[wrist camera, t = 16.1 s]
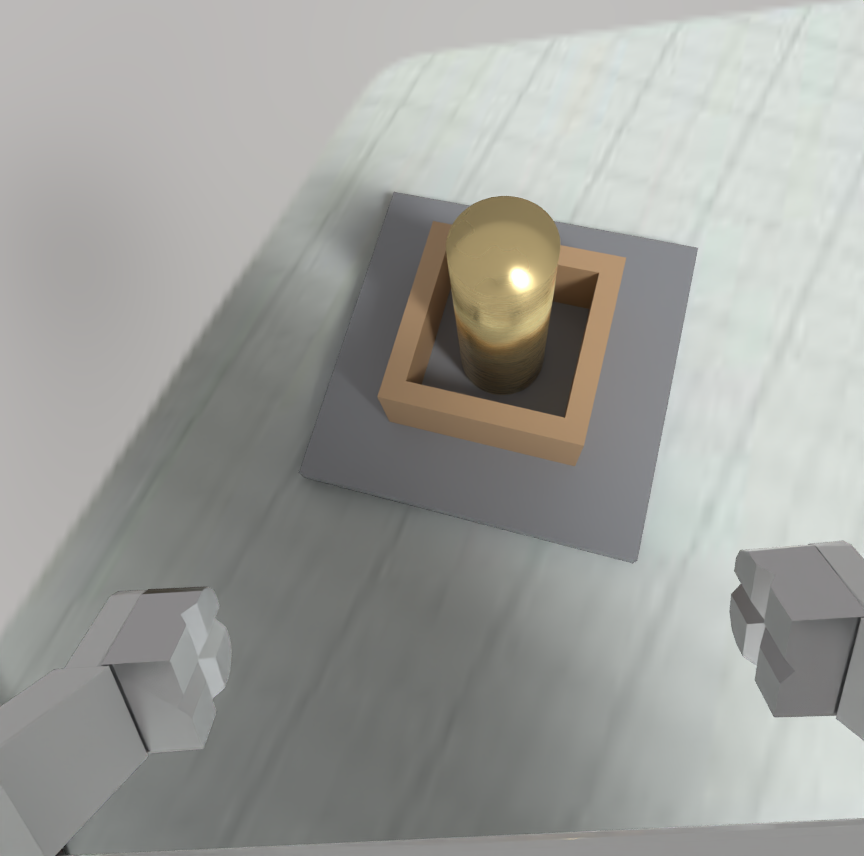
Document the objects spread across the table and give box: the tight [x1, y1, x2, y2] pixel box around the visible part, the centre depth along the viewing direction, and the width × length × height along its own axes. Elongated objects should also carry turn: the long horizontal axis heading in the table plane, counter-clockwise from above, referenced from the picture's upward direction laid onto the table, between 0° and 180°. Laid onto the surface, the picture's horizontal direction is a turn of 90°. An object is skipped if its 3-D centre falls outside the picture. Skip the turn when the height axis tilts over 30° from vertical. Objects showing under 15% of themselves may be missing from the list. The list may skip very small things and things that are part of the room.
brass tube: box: [446, 196, 560, 395], centre depth 29 cm, size 4×4×10 cm
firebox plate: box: [299, 192, 698, 563], centre depth 33 cm, size 16×16×4 cm
